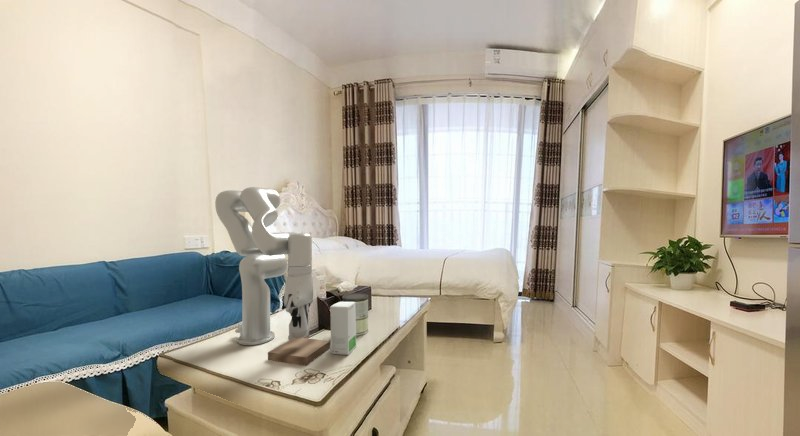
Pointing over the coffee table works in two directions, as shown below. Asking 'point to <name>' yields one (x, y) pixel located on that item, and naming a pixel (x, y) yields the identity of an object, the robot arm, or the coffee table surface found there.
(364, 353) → the coffee table surface
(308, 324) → the tea bag
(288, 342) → the walnut slab
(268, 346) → the coffee table surface
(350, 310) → the skincare box
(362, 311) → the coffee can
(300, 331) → the salt shaker
